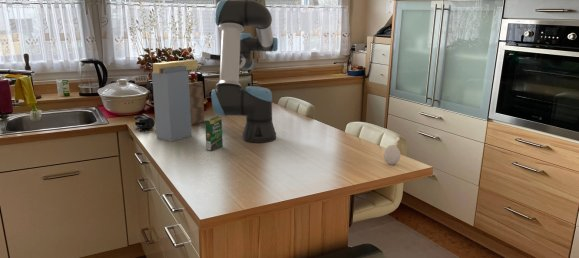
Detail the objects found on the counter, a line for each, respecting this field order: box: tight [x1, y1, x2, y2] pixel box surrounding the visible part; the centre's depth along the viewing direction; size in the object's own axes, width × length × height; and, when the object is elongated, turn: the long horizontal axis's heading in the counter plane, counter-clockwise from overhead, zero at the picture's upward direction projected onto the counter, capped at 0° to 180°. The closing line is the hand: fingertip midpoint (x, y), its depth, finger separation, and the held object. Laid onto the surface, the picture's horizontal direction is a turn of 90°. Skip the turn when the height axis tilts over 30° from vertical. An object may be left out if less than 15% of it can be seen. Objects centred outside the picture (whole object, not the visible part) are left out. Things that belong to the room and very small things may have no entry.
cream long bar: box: [152, 59, 199, 74], centre depth 198 cm, size 22×4×4 cm, turn 145°
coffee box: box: [204, 115, 224, 152], centre depth 184 cm, size 8×3×13 cm, turn 150°
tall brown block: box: [189, 79, 205, 126], centre depth 229 cm, size 10×10×21 cm
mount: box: [151, 66, 192, 143], centre depth 200 cm, size 12×10×32 cm
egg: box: [383, 144, 401, 166], centre depth 166 cm, size 6×6×8 cm
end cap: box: [134, 113, 156, 133], centre depth 217 cm, size 10×7×7 cm
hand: (214, 54), depth 215 cm, fingers open, 13 cm apart
